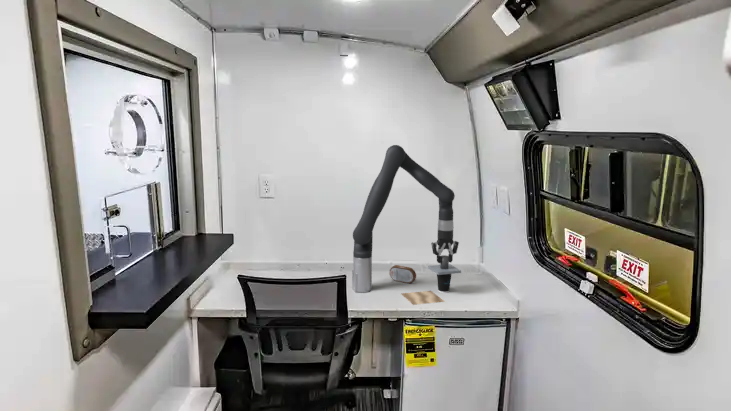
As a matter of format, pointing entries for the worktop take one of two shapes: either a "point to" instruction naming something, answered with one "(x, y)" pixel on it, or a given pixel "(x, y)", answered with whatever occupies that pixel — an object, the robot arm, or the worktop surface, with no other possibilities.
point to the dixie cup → (444, 282)
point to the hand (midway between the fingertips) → (444, 262)
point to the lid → (444, 267)
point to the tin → (402, 274)
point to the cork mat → (422, 297)
